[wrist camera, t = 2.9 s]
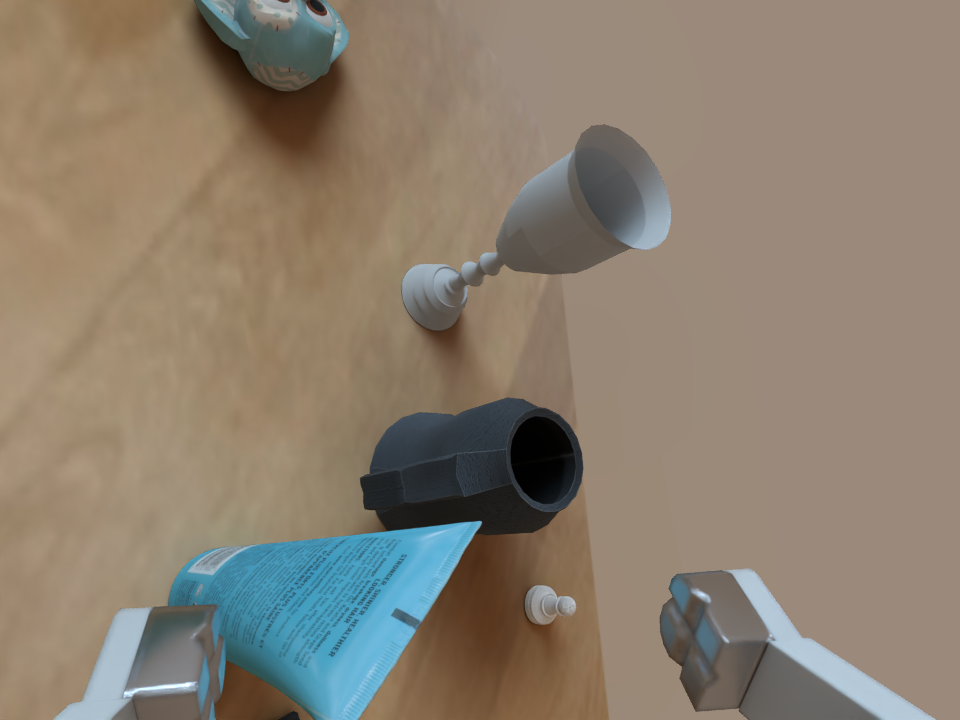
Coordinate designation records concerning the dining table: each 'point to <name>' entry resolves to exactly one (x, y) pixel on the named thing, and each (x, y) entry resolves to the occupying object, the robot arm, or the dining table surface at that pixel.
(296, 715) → the coaster
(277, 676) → the tube
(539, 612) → the chess pawn
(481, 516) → the mug
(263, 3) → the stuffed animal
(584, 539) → the dining table surface
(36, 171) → the dining table surface
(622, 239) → the chalice
